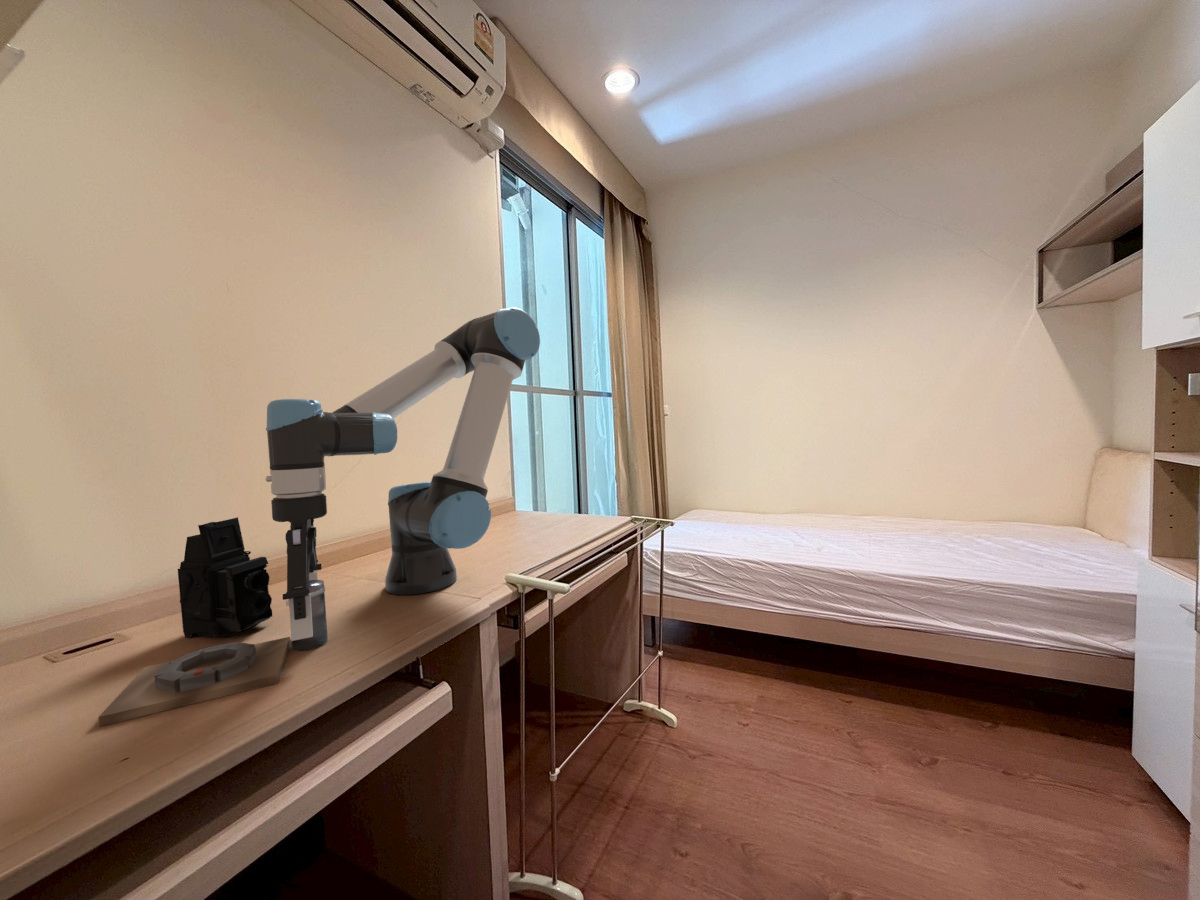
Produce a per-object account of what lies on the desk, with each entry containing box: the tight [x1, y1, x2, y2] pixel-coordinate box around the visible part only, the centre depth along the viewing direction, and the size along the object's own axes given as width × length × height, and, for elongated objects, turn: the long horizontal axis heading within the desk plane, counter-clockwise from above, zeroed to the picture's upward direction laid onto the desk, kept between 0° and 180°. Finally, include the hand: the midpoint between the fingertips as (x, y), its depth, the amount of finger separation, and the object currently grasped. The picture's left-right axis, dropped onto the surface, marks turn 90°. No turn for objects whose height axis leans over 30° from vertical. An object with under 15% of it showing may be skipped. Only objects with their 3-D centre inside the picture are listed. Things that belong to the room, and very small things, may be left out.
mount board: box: [97, 636, 291, 727], centre depth 67 cm, size 18×14×3 cm
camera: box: [177, 517, 273, 639], centre depth 83 cm, size 10×14×20 cm
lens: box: [285, 579, 329, 652], centre depth 76 cm, size 6×5×10 cm
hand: (306, 622), depth 76 cm, fingers open, 13 cm apart
